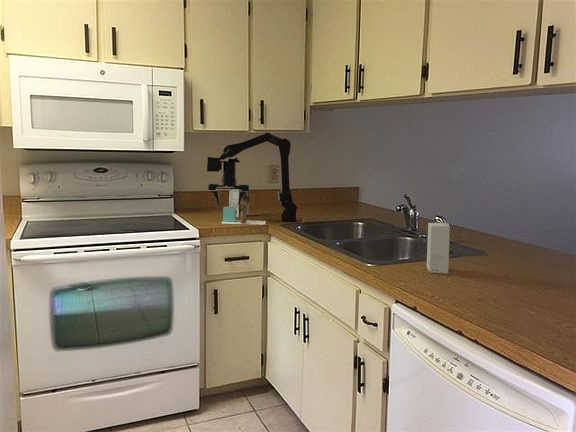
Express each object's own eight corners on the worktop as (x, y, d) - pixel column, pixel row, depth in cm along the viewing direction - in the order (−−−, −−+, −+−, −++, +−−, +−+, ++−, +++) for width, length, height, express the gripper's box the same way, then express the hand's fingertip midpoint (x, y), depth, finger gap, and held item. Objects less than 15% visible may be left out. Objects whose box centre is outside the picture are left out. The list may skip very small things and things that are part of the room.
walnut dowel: (246, 224, 233) (246, 211, 232) (245, 225, 231) (245, 212, 230) (240, 224, 233) (241, 211, 232) (240, 225, 231) (240, 212, 230)
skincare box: (448, 274, 154) (451, 226, 152) (428, 273, 155) (431, 225, 153) (444, 267, 162) (447, 222, 160) (425, 266, 163) (428, 221, 161)
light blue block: (235, 220, 238) (235, 206, 237) (234, 222, 233) (234, 208, 232) (224, 220, 238) (224, 206, 237) (223, 222, 233) (223, 208, 232)
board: (266, 222, 239) (266, 220, 239) (264, 226, 230) (264, 224, 229) (224, 221, 240) (224, 219, 240) (221, 225, 230) (221, 223, 230)
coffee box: (239, 215, 260) (239, 184, 258) (249, 216, 257) (249, 184, 254) (228, 217, 252) (228, 185, 250) (238, 218, 249) (239, 186, 247)
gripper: (251, 171, 240) (251, 203, 242) (212, 170, 241) (212, 202, 243) (248, 173, 229) (248, 207, 231) (208, 172, 230) (208, 205, 232)
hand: (229, 205), depth 235 cm, fingers open, 9 cm apart
